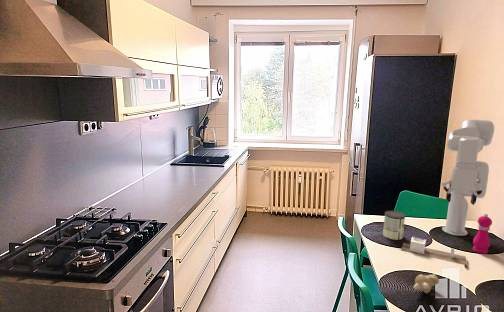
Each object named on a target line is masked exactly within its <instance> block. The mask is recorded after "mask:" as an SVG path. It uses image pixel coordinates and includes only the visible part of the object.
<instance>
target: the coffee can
mask: <svg viewBox="0 0 504 312" xmlns="http://www.w3.org/2000/svg"><path fill="white" fill-rule="evenodd" d="M383 220H384V221H383V230H382V235H383V237H385V238H387V239H390V240H397V241H398V240H402V239H403V237H404V230H405V229H404V228H405V220H406V214H405V213H403V212H401V211H397V210H386V211H384V219H383Z"/></svg>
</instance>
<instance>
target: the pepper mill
mask: <svg viewBox="0 0 504 312" xmlns="http://www.w3.org/2000/svg"><path fill="white" fill-rule="evenodd" d="M488 216H489V214H488V213H484V214H483V215H482V216H479V217H478V219H477V223H478V225H477V229H478V231H477V234H475V236H474V238H472V240H473V241H472V244H473V246H472V250H473V252H475V253H478V254H481V255H484V254H485V255H486V254H488V252H489V249H488V248H489V247H490V246H491V242H490V239H489V234H488V233H489V231H490V230H491V229H490V228H491V226H492V225H493V220H492V219H491V217H488Z"/></svg>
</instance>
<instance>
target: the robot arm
mask: <svg viewBox="0 0 504 312" xmlns="http://www.w3.org/2000/svg"><path fill="white" fill-rule="evenodd" d="M494 133H495V124H494V123H493V121H491V120H484V119H467V120H464V121H463V122H461V124H460V127H459V128H457V129H453V130H452V131H451V132H450V133H449V135H448V138H447V143H446V145H447V146H446V147H447V149H448V151H451V152H456V157H455V166H454V167H453V168H452V171H451V174H450V178H449V179H448V180H445V181H442V182H440V183H441V186H442V189H443V190H444V191H445V192H446V195H445V199H446V201H447V202H448V206H447V207H448V208H447V215H446V222H445V225H444V226H442V227H441V228H442V229H441V230H442V231H443V232H444V233H446V234H449V235H452V236H457V237H458V236H460V237H464V236H467V235H468V231H467V230H466V223H467V216H468V215H467V214H468V209H469V203H468V200H467V199H466V198H465V197H467V198H470V204H471V205H473V206H474V205H475V204H476V202H477V199H484V197H486V193H487V187H488V186H487V185H488V180H489V179H488V178H489V173H490V167H489V163H487V162H485V161H481V160H478V154H479V153H480V152H481V151H483V149H484V147H487V146H490V144H491V143H492V140H493V138H494ZM447 185H448V186H449V187H448V188H447Z"/></svg>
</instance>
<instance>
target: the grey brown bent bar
mask: <svg viewBox="0 0 504 312" xmlns="http://www.w3.org/2000/svg"><path fill="white" fill-rule="evenodd" d="M410 244H411V243H406V242H403V243H402V246H401V248H400V251H401V252H402V251H403V252H406V253H410V254H416V255H420V256H424V257H430V258H433V259H437V260H440V261H441V260H442V261H446V262H451V263H453V264H454V263H455V264H459V265H464V268H465V269H467V267H468V263H467V256H464V255H462V254H461V255H460V254H455V253H454V257H453V259H450V254H451V252H447V251H443V250H438V249H432V248H429V247H425V250H424V254H422V253H417V252H413V251H410Z"/></svg>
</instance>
